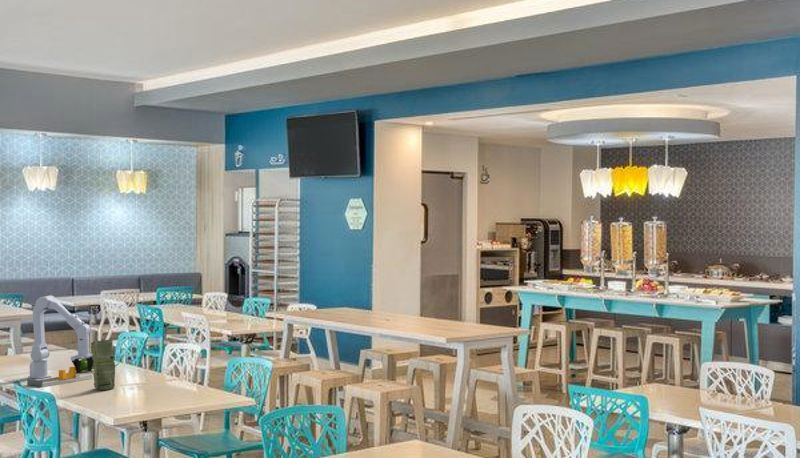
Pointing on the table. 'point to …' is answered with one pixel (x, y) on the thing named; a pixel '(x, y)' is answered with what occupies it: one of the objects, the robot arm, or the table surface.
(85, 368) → the decorative plant
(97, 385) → the pouch
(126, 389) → the table surface
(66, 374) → the pipe clamp
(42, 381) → the rail
